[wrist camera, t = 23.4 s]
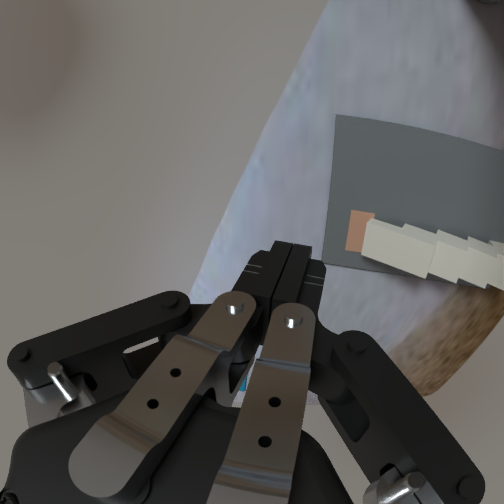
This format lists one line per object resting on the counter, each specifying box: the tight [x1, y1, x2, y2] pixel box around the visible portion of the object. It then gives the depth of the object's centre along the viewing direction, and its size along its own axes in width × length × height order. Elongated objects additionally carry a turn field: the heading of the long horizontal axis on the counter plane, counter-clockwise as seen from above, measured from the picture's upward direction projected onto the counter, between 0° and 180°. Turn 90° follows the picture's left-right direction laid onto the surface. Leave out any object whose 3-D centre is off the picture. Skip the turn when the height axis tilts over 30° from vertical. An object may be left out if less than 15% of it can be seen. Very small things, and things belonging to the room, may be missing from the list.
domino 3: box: [436, 230, 497, 289], centre depth 35 cm, size 5×2×10 cm
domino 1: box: [361, 218, 438, 279], centre depth 38 cm, size 5×2×10 cm
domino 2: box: [402, 223, 468, 283], centre depth 37 cm, size 5×2×10 cm
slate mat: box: [321, 115, 504, 289], centre depth 37 cm, size 22×30×1 cm
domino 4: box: [467, 236, 504, 291], centre depth 34 cm, size 5×2×10 cm
